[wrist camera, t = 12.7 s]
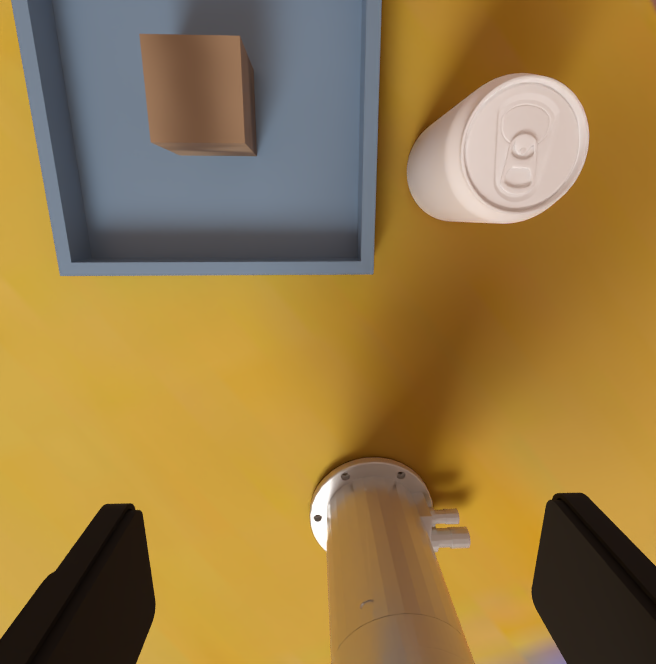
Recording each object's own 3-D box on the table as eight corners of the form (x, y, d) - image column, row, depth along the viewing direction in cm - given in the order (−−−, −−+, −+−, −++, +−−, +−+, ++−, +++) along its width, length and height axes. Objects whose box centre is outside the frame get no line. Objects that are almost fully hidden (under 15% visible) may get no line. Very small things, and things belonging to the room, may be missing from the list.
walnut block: (253, 69, 31) (239, 35, 25) (257, 156, 32) (244, 143, 27) (172, 68, 30) (139, 33, 25) (179, 155, 32) (150, 142, 26)
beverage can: (509, 120, 33) (614, 69, 22) (493, 223, 35) (580, 228, 24) (410, 113, 33) (463, 58, 21) (400, 218, 35) (443, 220, 23)
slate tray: (375, -68, 29) (385, -111, 26) (367, 268, 36) (373, 274, 32) (32, -77, 29) (-11, -122, 25) (87, 269, 35) (60, 275, 31)
